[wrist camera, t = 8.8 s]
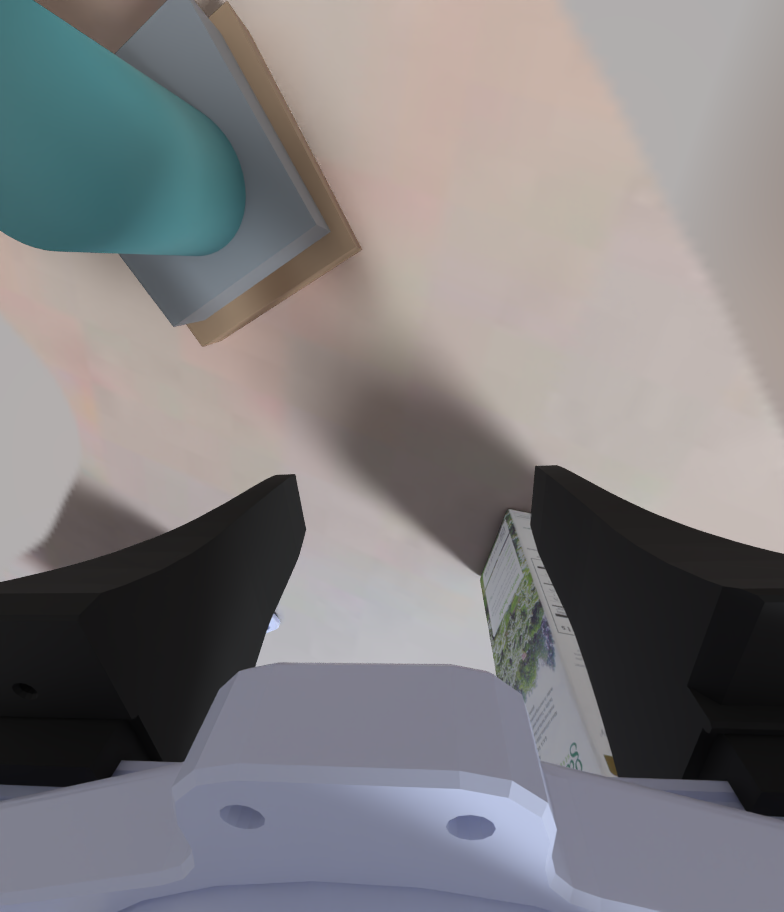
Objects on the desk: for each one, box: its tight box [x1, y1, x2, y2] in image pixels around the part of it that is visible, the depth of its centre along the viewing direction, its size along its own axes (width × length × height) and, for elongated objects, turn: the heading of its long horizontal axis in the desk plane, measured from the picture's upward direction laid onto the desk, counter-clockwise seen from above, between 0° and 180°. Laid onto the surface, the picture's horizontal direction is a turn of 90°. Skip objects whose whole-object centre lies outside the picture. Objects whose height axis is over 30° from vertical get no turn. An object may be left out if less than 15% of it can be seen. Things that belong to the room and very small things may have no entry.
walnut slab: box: [186, 1, 362, 347], centre depth 17 cm, size 8×8×2 cm
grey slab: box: [115, 0, 331, 327], centre depth 15 cm, size 7×7×2 cm
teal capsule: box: [0, 0, 246, 256], centre depth 11 cm, size 4×4×6 cm
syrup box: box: [480, 509, 618, 777], centre depth 18 cm, size 6×6×14 cm
